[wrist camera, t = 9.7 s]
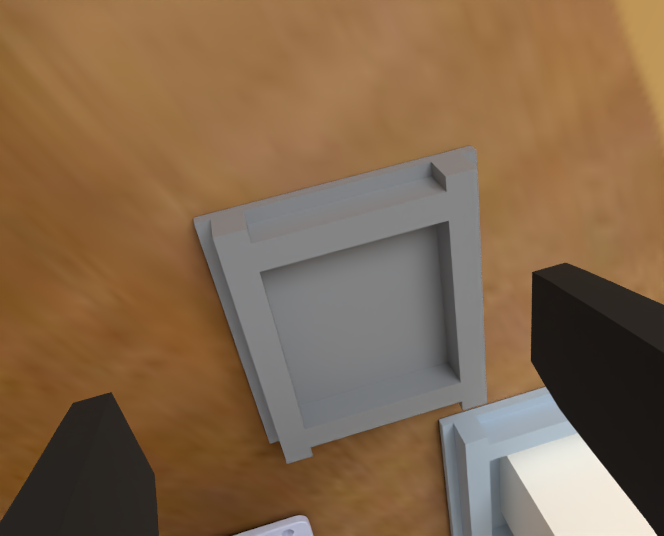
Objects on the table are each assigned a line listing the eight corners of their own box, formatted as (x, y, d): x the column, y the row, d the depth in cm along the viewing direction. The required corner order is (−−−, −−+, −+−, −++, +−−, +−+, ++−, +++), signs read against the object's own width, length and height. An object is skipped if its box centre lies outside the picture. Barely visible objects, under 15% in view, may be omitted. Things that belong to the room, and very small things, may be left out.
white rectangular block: (500, 511, 29) (567, 636, 24) (499, 443, 27) (574, 569, 22) (575, 486, 30) (656, 604, 25) (582, 418, 27) (675, 535, 22)
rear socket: (452, 550, 31) (465, 580, 30) (438, 419, 26) (453, 448, 24) (612, 498, 32) (631, 524, 31) (631, 360, 26) (656, 385, 25)
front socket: (268, 436, 24) (274, 467, 22) (193, 217, 18) (195, 242, 17) (481, 372, 25) (499, 399, 23) (470, 145, 19) (493, 163, 18)
